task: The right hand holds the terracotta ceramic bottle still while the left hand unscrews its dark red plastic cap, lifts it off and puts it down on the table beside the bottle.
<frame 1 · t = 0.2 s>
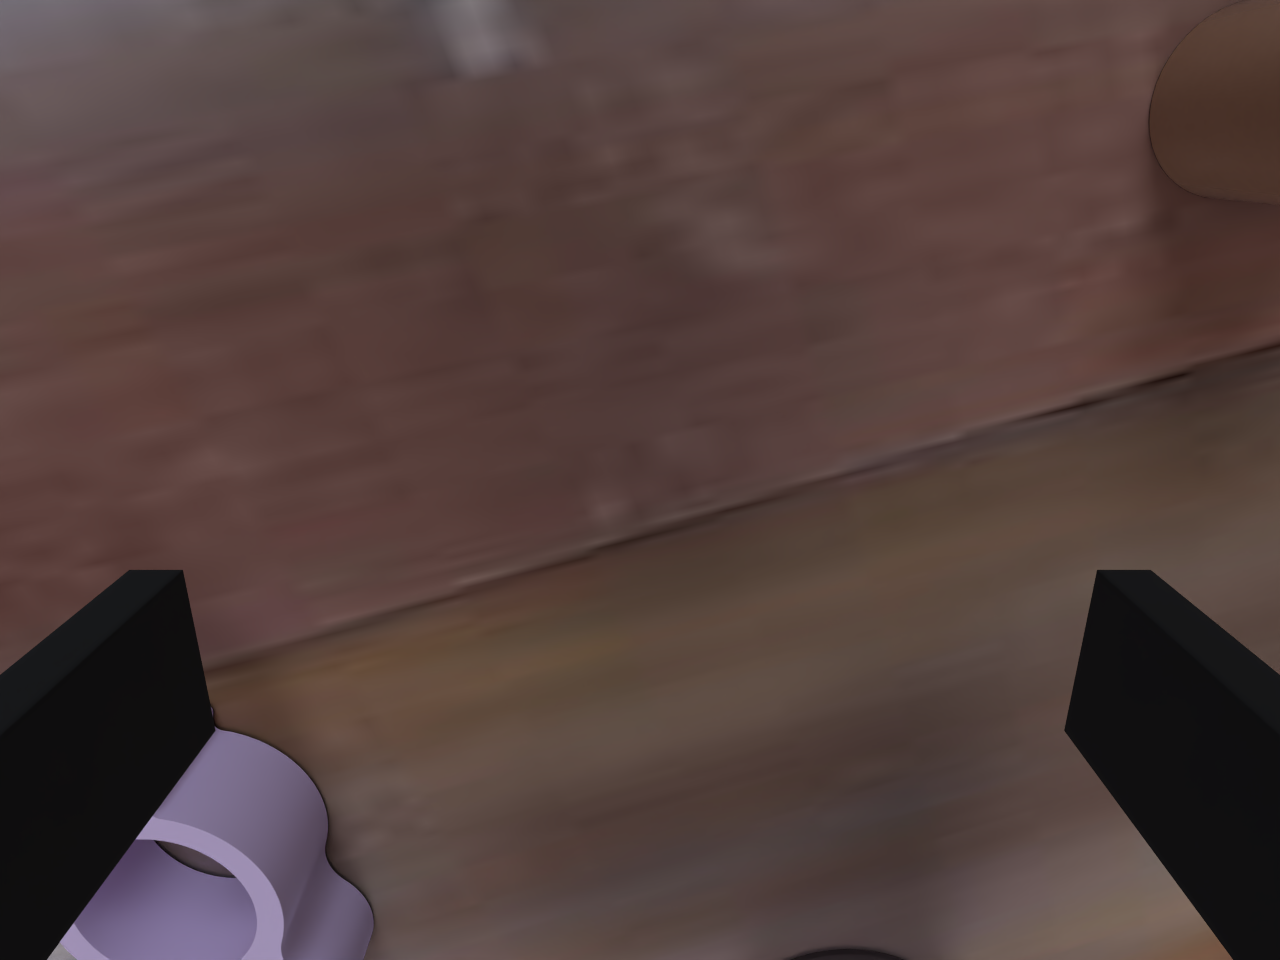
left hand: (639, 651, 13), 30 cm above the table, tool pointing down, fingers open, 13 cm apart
clip: (249, 844, 53), on the table
bottle: (1243, 101, 38), on the table
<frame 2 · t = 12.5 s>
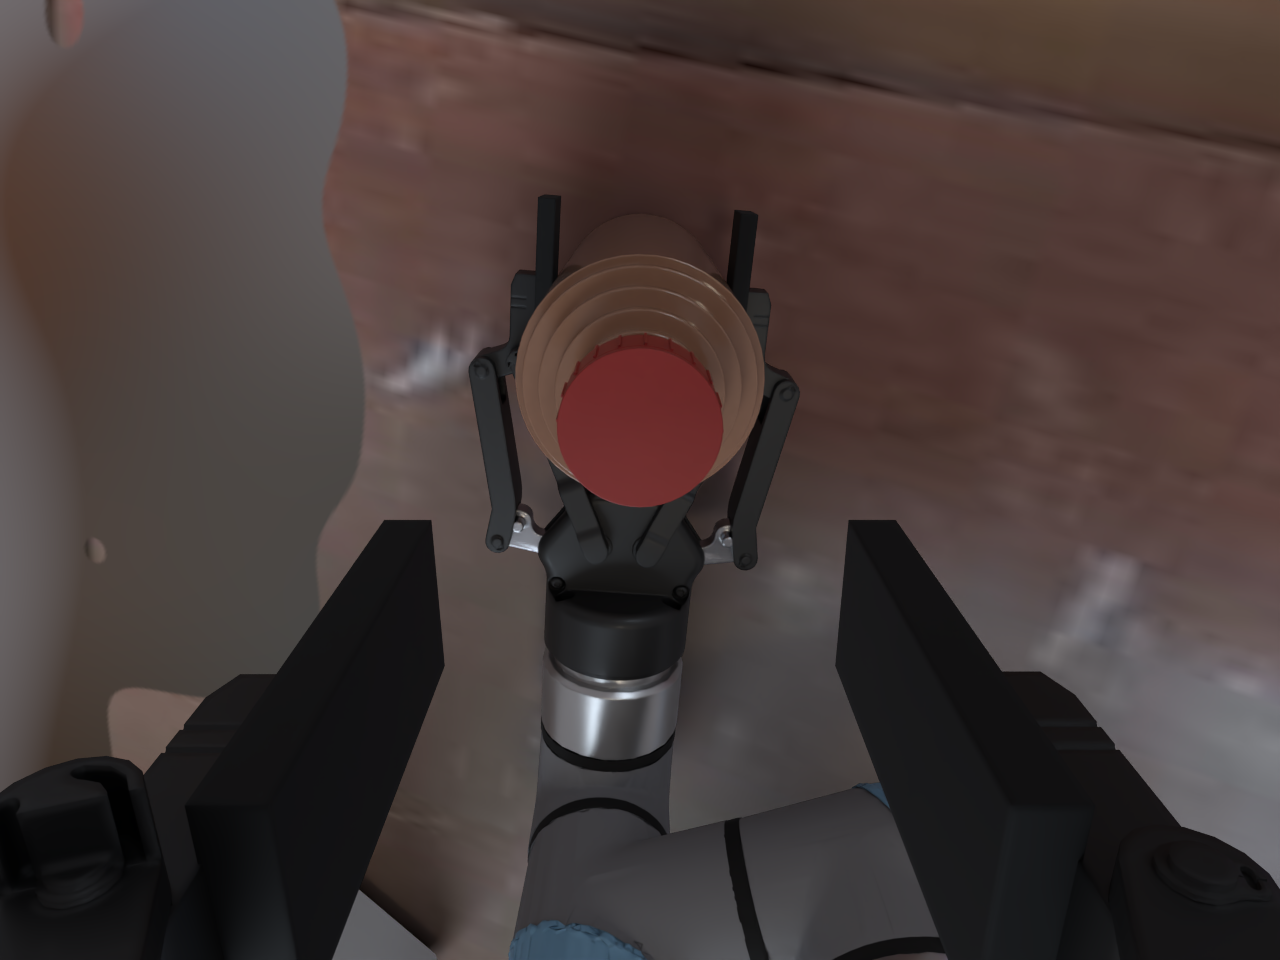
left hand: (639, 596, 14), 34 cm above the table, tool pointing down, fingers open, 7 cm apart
right hand: (648, 204, 39), fingers closed on bottle, 8 cm apart
cap: (639, 427, 23), point 24 cm above the table, screwed on, not yet turned
bottle: (640, 292, 46), on the table, touching right hand
electronic device: (357, 924, 62), on the table
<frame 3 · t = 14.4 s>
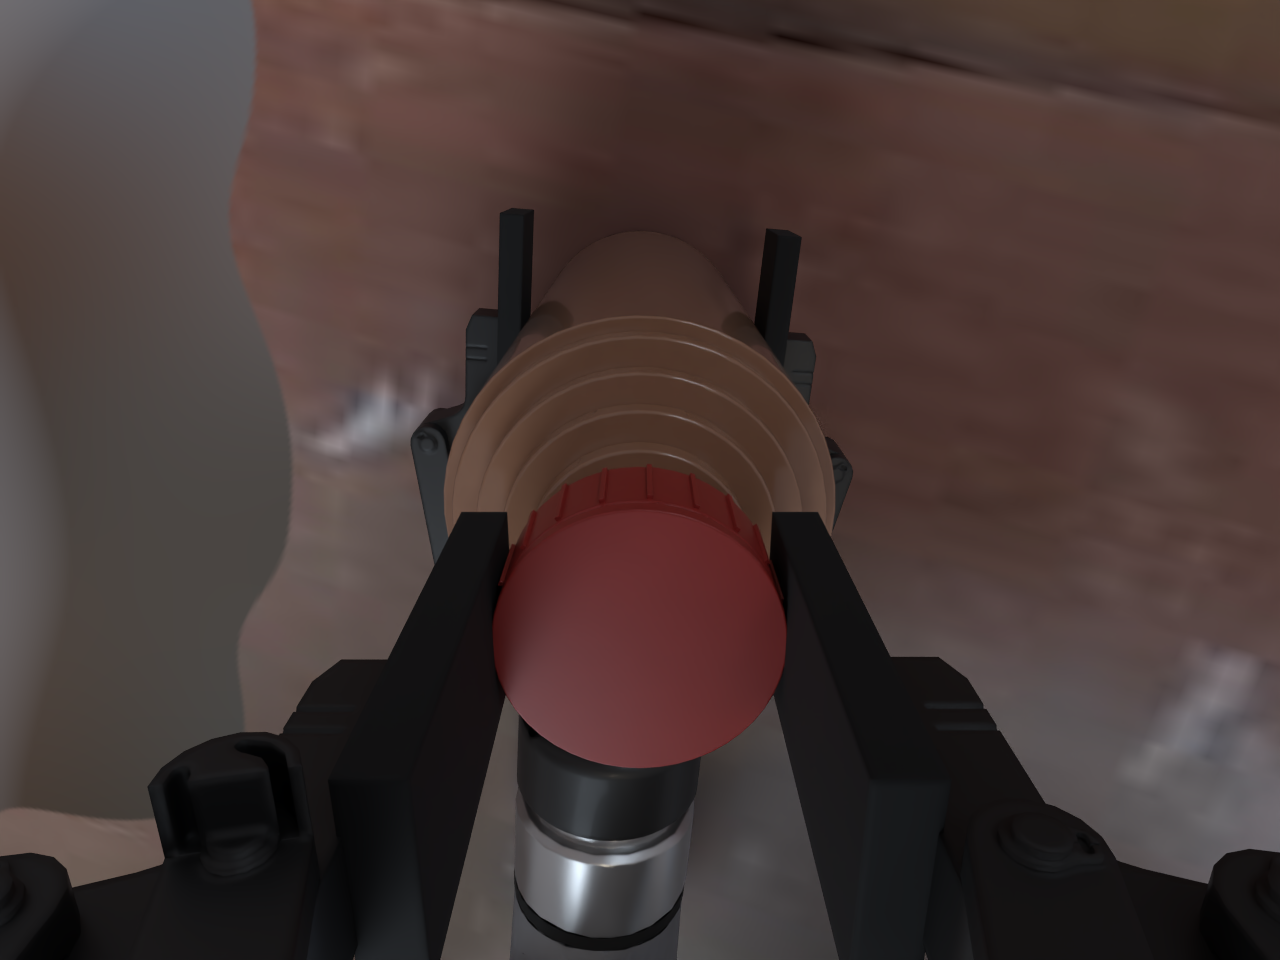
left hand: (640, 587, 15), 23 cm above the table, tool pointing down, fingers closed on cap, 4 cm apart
cap: (639, 636, 13), point 24 cm above the table, screwed on, not yet turned, touching left hand
bottle: (639, 330, 36), on the table, touching right hand
when the left hand's fingers open (2 cm above the table, at t = 36.0 s): cap drops 2 cm, point 2 cm above the table.
when the right hand's fingers open (6 cm above the table, at t = 37.3 s): bottle stays where it is, on the table.
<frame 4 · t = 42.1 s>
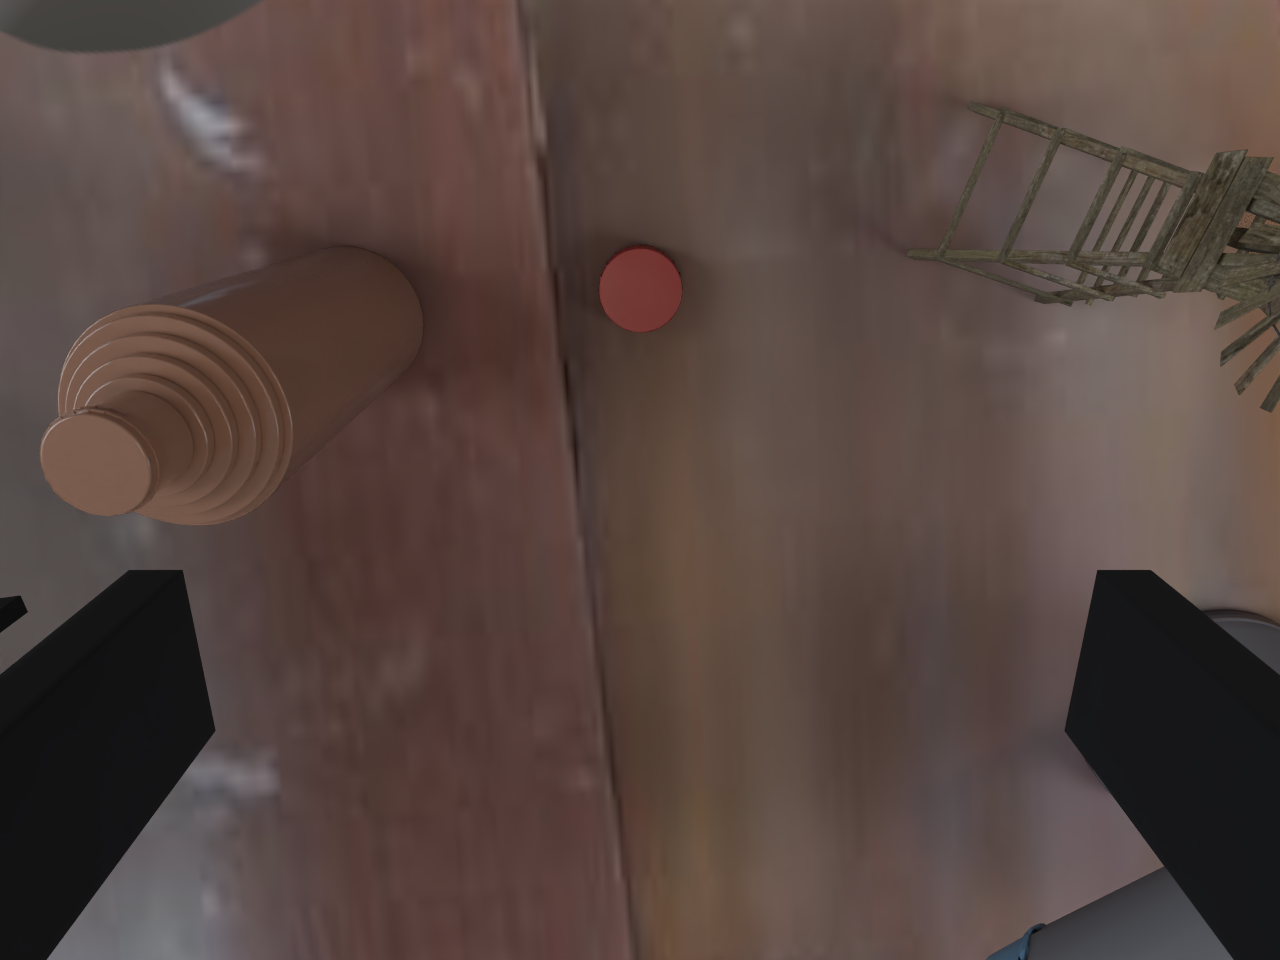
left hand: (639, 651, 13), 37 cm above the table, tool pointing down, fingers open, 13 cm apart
cap: (640, 290, 46), point 2 cm above the table, off its thread
bottle: (351, 319, 48), on the table
miniature windmill: (1007, 206, 46), on the table
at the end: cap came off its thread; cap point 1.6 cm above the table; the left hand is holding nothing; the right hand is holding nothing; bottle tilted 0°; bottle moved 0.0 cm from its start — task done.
